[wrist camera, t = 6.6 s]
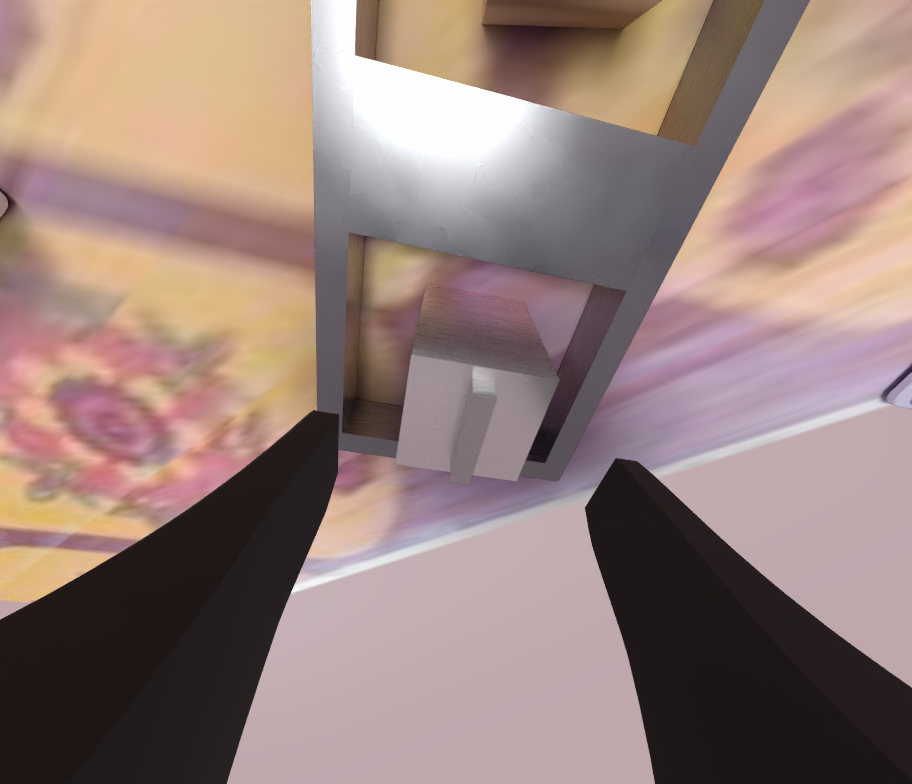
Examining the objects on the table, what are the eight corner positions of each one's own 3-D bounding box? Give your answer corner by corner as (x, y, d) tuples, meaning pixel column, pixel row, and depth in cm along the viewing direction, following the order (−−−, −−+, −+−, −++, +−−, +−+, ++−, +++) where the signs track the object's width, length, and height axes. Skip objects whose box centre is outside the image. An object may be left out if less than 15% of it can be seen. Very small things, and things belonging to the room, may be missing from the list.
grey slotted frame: (935, -400, 7) (1144, -638, 5) (546, 445, 19) (558, 481, 17) (353, -689, 6) (292, -1185, 4) (334, 412, 18) (317, 446, 16)
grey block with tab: (523, 302, 15) (566, 397, 9) (498, 383, 17) (520, 501, 11) (426, 283, 14) (408, 370, 9) (413, 369, 16) (391, 484, 11)
